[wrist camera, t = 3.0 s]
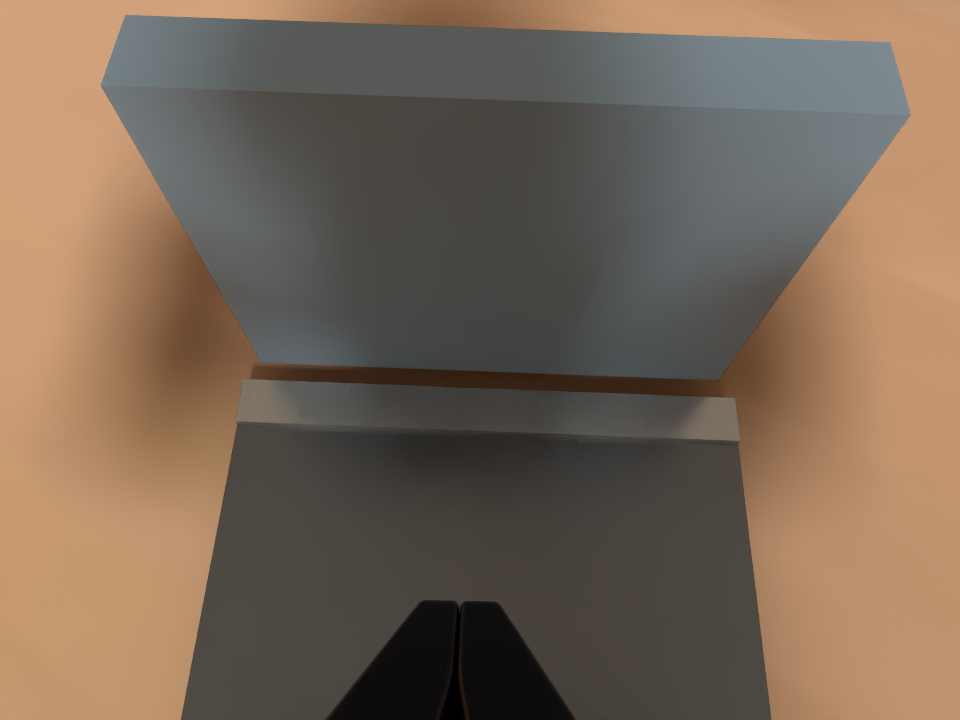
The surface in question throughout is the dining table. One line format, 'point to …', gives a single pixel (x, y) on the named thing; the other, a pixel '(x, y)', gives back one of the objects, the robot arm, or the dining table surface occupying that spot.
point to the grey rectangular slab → (500, 184)
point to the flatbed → (482, 545)
